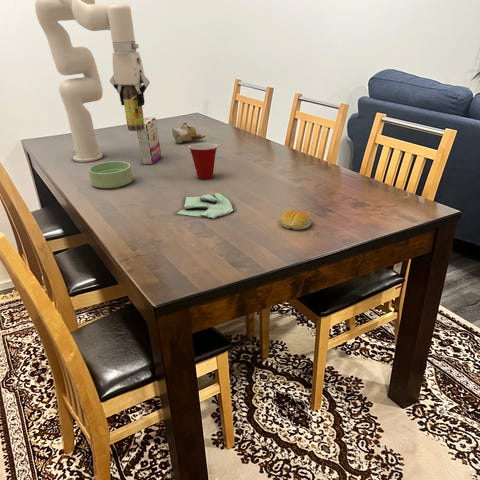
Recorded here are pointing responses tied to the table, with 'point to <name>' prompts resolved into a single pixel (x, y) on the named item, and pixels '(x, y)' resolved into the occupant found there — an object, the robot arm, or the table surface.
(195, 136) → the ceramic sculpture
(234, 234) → the table surface
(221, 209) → the cloth
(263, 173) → the table surface
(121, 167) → the bowl
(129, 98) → the sauce bottle
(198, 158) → the plastic cup
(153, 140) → the candy bar box
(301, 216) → the bread roll
